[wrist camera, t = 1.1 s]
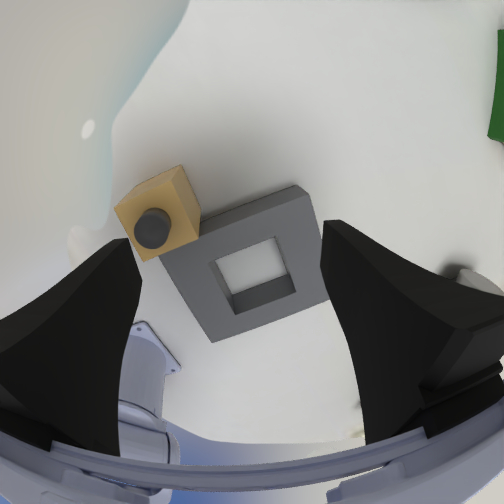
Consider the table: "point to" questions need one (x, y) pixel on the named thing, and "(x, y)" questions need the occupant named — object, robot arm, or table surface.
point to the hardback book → (498, 96)
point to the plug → (160, 214)
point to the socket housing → (242, 236)
